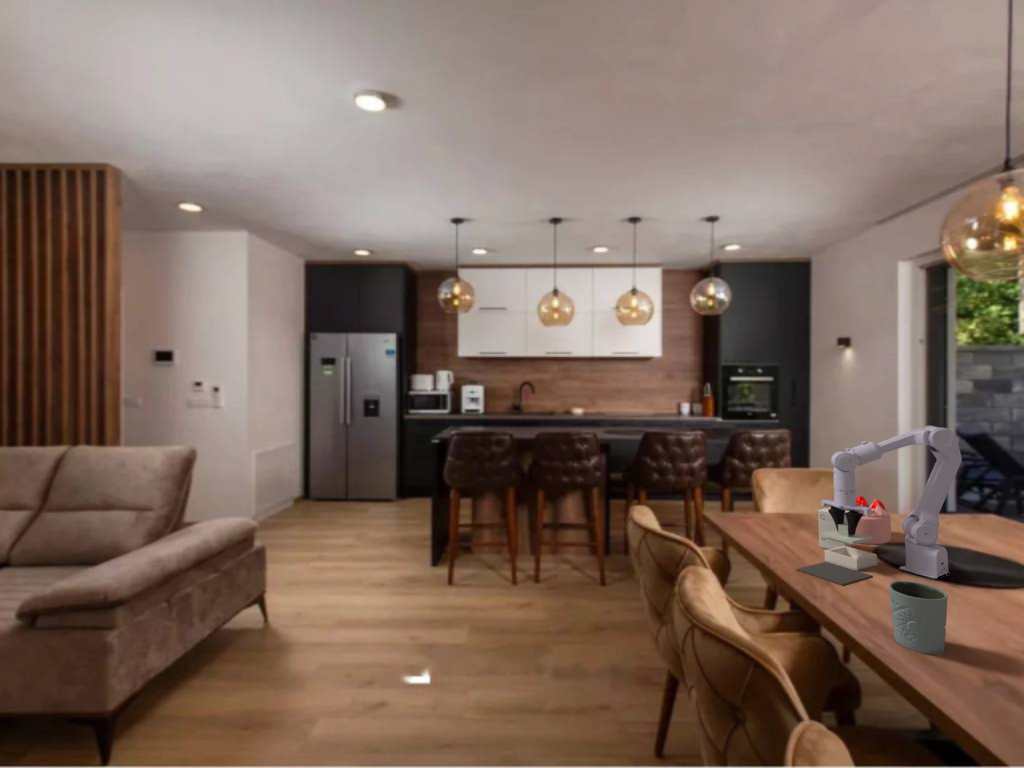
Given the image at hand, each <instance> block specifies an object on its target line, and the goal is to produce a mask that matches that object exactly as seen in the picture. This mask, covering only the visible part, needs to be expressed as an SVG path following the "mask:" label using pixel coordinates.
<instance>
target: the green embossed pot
mask: <svg viewBox="0 0 1024 768" xmlns="http://www.w3.org/2000/svg"><path fill="white" fill-rule="evenodd" d="M888 590H889V591H888V592H889V599H890V608H891V615H892V616H891V618H892V624H893V625H892V626H893V638H894V641H895V643H896V644H898V643H899V644H900V645H899V644H898V645H899V646H901V645H902V646H901V647H903V646H904V647H903V648H905V647H906V648H905V649H907V648H908V649H907V650H910V649H911V651H913V650H914V651H913V652H916V651H917V652H916V653H920V652H921V654H924V655H926V654H928V655H940V654H942V653H944V652H945V649H946V647H945V645H946V643H945V642H946V633H947V632H946V631H947V630H946V625H947V618H948V617H947V613H948V600H949V599H948V594H947V593H946V592H945V591H944V590H942V589H940V588H939V587H936V586H933V585H930V584H927V583H922V582H917V581H911V580H895V581H891V582H889V583H888Z"/></svg>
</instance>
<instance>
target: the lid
mask: <svg viewBox="0 0 1024 768" xmlns="http://www.w3.org/2000/svg"><path fill="white" fill-rule="evenodd" d="M821 536H823V537H827V539H830V540H833V541H837V542H841V543H845V544H849V545H851V546H853V545H857V544H862V543H863V542H867V541H868V540H873V537H872V536H867V535H863V534H859V533H855V535H849V532H848V524H846V523H843V524H838V532H837V530H834V531H829V532H824V533H821Z"/></svg>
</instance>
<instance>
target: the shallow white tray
mask: <svg viewBox="0 0 1024 768" xmlns="http://www.w3.org/2000/svg"><path fill="white" fill-rule="evenodd" d="M877 557H878V554H876V553H874V552H873V553H872V552H870V551H867V550H866V551H865V550H861V549H857V548H854V547H852V546H851V547H847V546H841V547H837V548H833V549H825V550H824V562H829V563H832V564H836V565H839V566H842V567H846V568H849V569H852V570H856V571H859V572H860V571H862V570H865V569H870V568H873V567H877V566H878V558H877Z"/></svg>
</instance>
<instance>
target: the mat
mask: <svg viewBox="0 0 1024 768" xmlns="http://www.w3.org/2000/svg"><path fill="white" fill-rule="evenodd" d="M795 570H796V571H797V570H798V572H800V571H801V572H800V573H803V574H806V575H810V576H813V577H815V578H818V579H821V580H824V581H827V582H830V583H834V584H836V585H839V586H846V585H849V584H852V583H853V584H854V583H856V582H861V581H864V580H867V579H870V578H873V575H872V574H868V573H865V572H862V571H860V570H859V571H856V570H852V569H849V568H846V567H842V566H839V565H836V564H832V563H829V562H825V561H822V562H819V563H815V564H811V565H807V566H802V567H800V568H796V569H795Z"/></svg>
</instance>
